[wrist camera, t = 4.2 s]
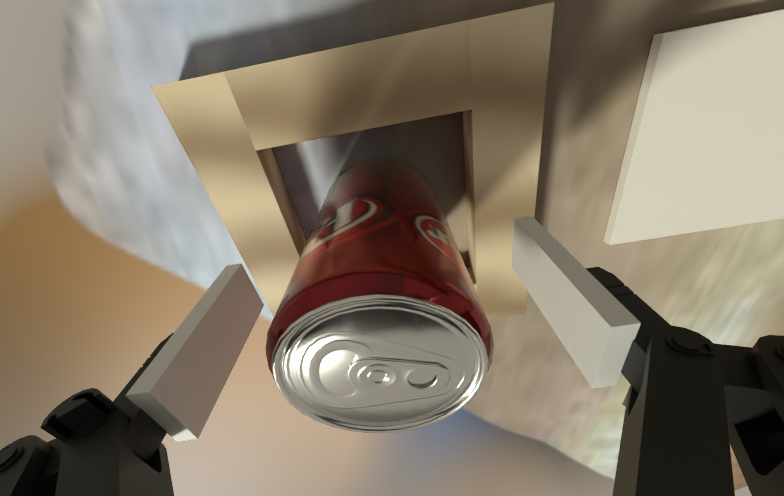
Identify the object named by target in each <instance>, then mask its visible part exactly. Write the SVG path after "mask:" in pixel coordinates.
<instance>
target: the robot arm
mask: <svg viewBox="0 0 784 496" xmlns="http://www.w3.org/2000/svg"><path fill="white" fill-rule="evenodd" d="M512 268H513V269H514V271H515V272H516V274H517V275H518V277H519V278H520V280H521V281H522V283H523V284H524V286H525V287H526V289H527V291H528V292H529V294H530V295H531V297H532V298H533V300H534V301H535V303H536V304H537V306H538V307H539V309H540V310H541V312H542V313H543V315H544V316H545V318H546V319H547V321H548V322H549V324H550V325H551V327H552V329H553V330H554V332H555V333H556V335H557V336H558V338H559V339H560V341H561V342H562V344H563V345H564V347H565V348H566V350H567V351H568V353H569V354H570V356H571V357H572V359H573V360H574V362H575V363H576V365H577V367H578V368H579V370H580V371H581V373H582V374H583V376H584V377H585V379H586V380H587V382H588V383H589V385H590V386H591V388H599V387H606V386H614V385H617V384H618V381H619V379H620V376H621V374H623V375H624V377H625V378H626V379H627V380H628V382H629V383H630V384H631V386H630V388H629V390H628V393H627V395H626V397H625V400H624V402H623V404H622V405H624V406H626V410H625V417H624V423H623V430H622V436H621V443H620V450H619V456H618V463H617V470H616V476H615V483H614V490H613V496H735V494H734V483H733V473H732V463H731V453H730V445H731V447H732V450H733V452H734V454H735V457H736V459H737V461H738V464H739V466H740V468H741V471H742V473H743V476H744V478H745V480H746V483H747V485H748V487H749V490H750V492H751V494H752V496H784V336H776V335H768V336H764V337H760V338H759V339H758V341H757V342H756V344H755V345H754V346H753V348H750V347H740V346H731V345H722V344H714V343H712V342H711V341H710V340H709V339H707V338H706V337H704V336H702V335H701V334H699V333H697V332H694V331H692V330H689V329H686V328H682V327H676V326H671V325H670V324H669V323H667V322H666V321H665V320H664V319H663V318H662V317H661V316H660V315H658V314H657V313H656V312H655V311H654V310H653V309H652V308H651V307H649V306H648V305H647V304H646V303H645V302H644V301H643V300H642V299H640V298H639V297H638V296H637V295H636V294H633V291H631V290H630V289H629V288H628V287H627V286H624V283H622V282H621V281H620V280H619V279H618V278H617V277H616V276H615V275H613V274H612V273H610V272H608V271H606V270H604V269H601V268H599V267H593V268H587V269H585V268H584V267H583V266H582V265H581V264H580V263H579V262H578V261H577V260H576V259H575V258H574V257H573V256H572V255H571V254H570V253H569V252H568V251H567V250H566V249H565V248H564V247H563V246H562V245H561V244H560V243H559V242H558V241H557V240H556V239H555V238H554V237H553V236H552V235H551V234H550V233H549V232H548V231H547V230H546V229H545V228H544V227H543V226H542V225H541V224H540V223H539V222H538V221H537V220H535V219H534V218H533V217H532V216H531V215H530V216H524V217H518V218H514V231H513V250H512ZM263 306H264V304H263V303H262V301H261V299H260V297H259V295H258V293H257V291H256V290H255V288H254V286H253V284H252V282H251V280H250V279H249V277H248V275H247V273H246V271H245V269H244V267H243V266H242V264H235V265H229V266H226V267H225V268H224V270H223V271H222V272H221V274H220V275H219V276H218V277H217V279H216V280H215V281H214V282H213V284H212V285H211V286H210V288H209V289H208V290H207V291H206V293H205V294H204V295H203V297H202V298H201V299H200V300H199V302H198V303H197V304H196V306H195V307H194V308H193V309H192V311H191V312H190V314H189V315H188V316H187V317H186V318H185V320H184V321H183V322H182V323H181V325H180V326H179V328H178V329H177V330H176V331H175V333H172V334H171V335H170V336H168V337H167V338H166V339H165V340H164V341H162V342H161V343H160V344H159V346H158V347H157V348H156V349H155V350H154V352H153V353H152V354H151V355H150V356H151V357H150V358H148V359H147V360H146V362H145V363H144V364H143V367H141V368H140V369H139V370H138V372H137V373H136V374H135V375H134V376H133V378H132V379H131V380H130V382H129V383H128V384H127V385H126V386H125V388H124V389H123V390H122V392H121V393H120V394H119V395H118V396H117V398H116V399H115V400H114V401H113V402H112V401H111V400H110V399H109V398H108V397H106V396H105V395H104V394H103V393H102V392H100V391H99V390H98V389H94V388H91V389H87V390H83V391H81V392H79V393H77V394H74V395H73V396H71V397H70V398H68V399H66V400H65V401H63V402H62V403H61V404H60V405H58V406H57V407H56V408H55V409H54V410H53V411H52V412H51V413H50V414H49V415H48V416H47V417H46V418H45V420H44V421H43V423H42V425H41V428H42V429H43V430H45V431H47V432H48V433H49V434H51V435H53V436H54V437H56V439H54V440H51V441H49V442H45V441H43V440H42V439H40V438H39V437H37V436H32V435H30V436H26V437H23V438H20V439H18V440H17V441H15V442H13V443H11V444H9V445H7V446H6V447H4V448H3V449H2V450H0V496H174V493H173V487H172V481H171V474H170V468H169V462H168V457H167V451H166V448H165V446H164V445H163V444H162V443H161V442H162V440H163V438H164V437H165V435H166V433H168V434H169V435H170V436H171V437H172V438H173V439H175V440H176V441H185V440H193V439H198V438H199V435H200V433H201V431H202V429H203V427H204V425H205V423H206V421H207V419H208V417H209V415H210V413H211V411H212V409H213V407H214V405H215V403H216V401H217V399H218V397H219V395H220V393H221V391H222V389H223V387H224V385H225V383H226V381H227V379H228V377H229V375H230V373H231V371H232V369H233V367H234V365H235V363H236V361H237V359H238V357H239V355H240V352H241V351H242V348H243V347H244V344H245V342H246V340H247V338H248V336H249V334H250V332H251V330H252V328H253V326H254V324H255V322H256V320H257V318H258V316H259V314H260V312H261V310H262V308H263ZM729 442H730V443H729Z"/></svg>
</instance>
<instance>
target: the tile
mask: <svg viewBox="0 0 784 496" xmlns="http://www.w3.org/2000/svg"><path fill="white" fill-rule="evenodd" d="M782 218H784V9H780V10H775V11H770V12H765V13H760V14H755V15H750V16H745V17H740V18H735V19H730V20H725V21H720V22H715V23H710V24H705V25H700V26H695V27H690V28H685V29H680V30H675V31H670V32H665V33H660V34H655V35H654V36H653V40H652V44H651V49H650V53H649V57H648V61H647V65H646V69H645V73H644V77H643V81H642V85H641V89H640V94H639V98H638V102H637V106H636V110H635V114H634V118H633V122H632V126H631V130H630V135H629V139H628V143H627V147H626V151H625V155H624V159H623V163H622V167H621V171H620V176H619V180H618V184H617V188H616V192H615V196H614V200H613V204H612V208H611V212H610V216H609V221H608V225H607V229H606V233H605V237H604V241H605V242H606V243H607V244H608V245H613V244H620V243H626V242H633V241H639V240H646V239H652V238H659V237H665V236H672V235H678V234H685V233H691V232H698V231H704V230H711V229H717V228H724V227H730V226H737V225H743V224H750V223H756V222H763V221H769V220H776V219H782Z"/></svg>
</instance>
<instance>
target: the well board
mask: <svg viewBox="0 0 784 496" xmlns="http://www.w3.org/2000/svg"><path fill="white" fill-rule="evenodd" d="M553 13H554V2H551V3H546V4H541V5H536V6H532V7H527V8H522V9H517V10H513V11H508V12H503V13H499V14H494V15H489V16H484V17H480V18H475V19H470V20H465V21H461V22H456V23H451V24H447V25H442V26H437V27H432V28H428V29H423V30H418V31H413V32H409V33H404V34H399V35H394V36H390V37H385V38H380V39H376V40H371V41H366V42H361V43H357V44H352V45H347V46H342V47H338V48H333V49H328V50H324V51H319V52H314V53H309V54H305V55H300V56H295V57H290V58H286V59H281V60H276V61H272V62H267V63H262V64H257V65H253V66H248V67H243V68H238V69H234V70H229V71H224V72H220V73H215V74H210V75H205V76H201V77H196V78H191V79H186V80H182V81H177V82H172V83H168V84H163V85H158V86H153V87H151V88H152V90H153V92H154V94H155V96H156V98H157V100H158V101H159V103H160V105H161V107H162V109H163V111H164V113H165V114H166V116H167V118H168V120H169V122H170V124H171V126H172V128H173V129H174V131H175V133H176V135H177V137H178V139H179V141H180V142H181V144H182V146H183V148H184V150H185V152H186V154H187V155H188V157H189V159H190V161H191V163H192V165H193V167H194V169H195V170H196V172H197V174H198V176H199V178H200V180H201V182H202V183H203V185H204V187H205V189H206V191H207V193H208V195H209V197H210V198H211V200H212V202H213V204H214V206H215V208H216V210H217V211H218V213H219V215H220V217H221V219H222V221H223V223H224V225H225V226H226V228H227V230H228V232H229V234H230V236H231V238H232V239H233V241H234V243H235V245H236V247H237V249H238V251H239V253H240V254H241V256H242V258H243V260H244V262H245V264H246V266H247V267H248V269H249V271H250V273H251V275H252V277H253V279H254V280H255V282H256V284H257V286H258V288H259V290H260V292H261V294H262V295H263V297H264V299H265V301H266V303H267V305H268V307H269V308H270V310H271V312H272V314H273V316H275V314H276V312H277V310H278V307H279V305H280V303H281V300H282V298H283V296H284V293H285V291H286V289H287V286H288V284H289V282H290V280H291V277H292V275H293V273H294V270H295V268H296V266H297V263H298V261H299V259H300V256H301V254H302V252H303V250H304V247H305V245H306V243H307V241H306V238H305V236H304V233H303V230H302V228H301V225H300V223H299V220H298V217H297V215H296V212H295V209H294V207H293V204H292V202H291V199H290V196H289V194H288V191H287V188H286V186H285V183H284V181H283V178H282V175H281V173H280V170H279V168H278V165H277V162H276V160H275V157H274V154H273V152H272V149H271V148H272V147H277V146H282V145H287V144H293V143H298V142H303V141H308V140H314V139H319V138H324V137H329V136H335V135H340V134H345V133H350V132H356V131H361V130H366V129H372V128H377V127H382V126H387V125H393V124H398V123H403V122H408V121H414V120H419V119H424V118H429V117H435V116H440V115H445V114H450V113H456V112H461V111H463V128H464V152H465V177H466V201H467V225H468V250H469V267H467V271H468V273H469V276H470V278H471V281H472V283H473V285H474V288H475V290H476V293H477V295H478V297H479V300H480V302H481V305H482V307H483V310H484V312H485V314H486V317H487V319H491V318H498V317H506V316H513V315H520V314H525V312H526V301H527V289H526V287H525V286H524V284H523V283H522V281H521V280H520V278H519V277H518V275H517V274H516V272H515V271H514V269H513V268H512V250H513V231H514V218H518V217H524V216H530V215H531V216H532V217H533V218H534V216H535V205H536V194H537V184H538V173H539V162H540V152H541V141H542V130H543V120H544V109H545V98H546V88H547V77H548V66H549V56H550V45H551V34H552V23H553Z"/></svg>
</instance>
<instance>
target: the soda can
mask: <svg viewBox="0 0 784 496" xmlns="http://www.w3.org/2000/svg"><path fill="white" fill-rule="evenodd" d="M493 345H494V342H493V336H492V331H491V327H490V324H489V322H488V319H487V317H486V314H485V312H484V310H483V307H482V305H481V302H480V300H479V297H478V295H477V293H476V290H475V288H474V285H473V283H472V281H471V278H470V276H469V273H468V271H467V268H466V266H465V264H464V261H463V259H462V256H461V254H460V252H459V249H458V247H457V244H456V242H455V239H454V237H453V235H452V232H451V230H450V227H449V225H448V222H447V220H446V218H445V215H444V213H443V210H442V208H441V206H440V203H439V201H438V198H437V196H436V194H435V192H434V190H433V188H432V186H431V185H430V183H429V182H428V181H427V180H426V178H425V177H424V176H423V175H421V174H420V173H419V172H418V171H417V170H415V169H414V168H412V167H410V166H408V165H406V164H404V163H400V162H397V161H393V160H383V159H379V160H370V161H366V162H363V163H359V164H357V165H355V166H353V167H351V168H349V169H348V170H346V171H345V172H344V173H343V174H342V175H340V176H339V177H338V178H337V179H336V181H335V182H334V183H333V185H332V186H331V187H330V190H329V192H328V194H327V197H326V199H325V201H324V203H323V206H322V208H321V210H320V213H319V215H318V217H317V220H316V222H315V224H314V227H313V229H312V231H311V233H310V236H309V238H308V240H307V243H306V245H305V247H304V250H303V252H302V254H301V256H300V259H299V261H298V263H297V266H296V268H295V270H294V273H293V275H292V277H291V280H290V282H289V284H288V286H287V289H286V291H285V293H284V296H283V298H282V300H281V303H280V305H279V307H278V310H277V312H276V314H275V316H274V319H273V321H272V323H271V326H270V328H269V330H268V333H267V342H266V356H267V361H268V366H269V369H270V371H271V373H272V375H273V379H274V381H275V383H276V385H277V387H278V389H279V390H280V392H281V394H282V395H283V396H284V397H285V398H286V400H287V401H288V402H289V403H290V404H291V405H292V406H294V407H295V408H296V409H298V410H299V411H300V412H302V413H303V414H305V415H307V416H308V417H310V418H312V419H314V420H316V421H318V422H321V423H324V424H327V425H329V426H332V427H336V428H340V429H345V430H349V431H357V432H365V433H388V432H401V431H406V430H411V429H417V428H420V427H423V426H427V425H430V424H433V423H436V422H438V421H440V420H442V419H445V418H447V417H449V416H450V415H452V414H454V413H455V412H457V411H458V410H460V409H462V408H463V407H464V406H465V405H466V404H467V403H468V402H469V401H471V400H472V399H473V397H474V396H475V395H476V393H477V392H478V391H479V389H480V388H481V386H482V384H483V382H484V379H485V377H486V375H487V372H488V370H489V367H490V365H491V363H492V355H493Z"/></svg>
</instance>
